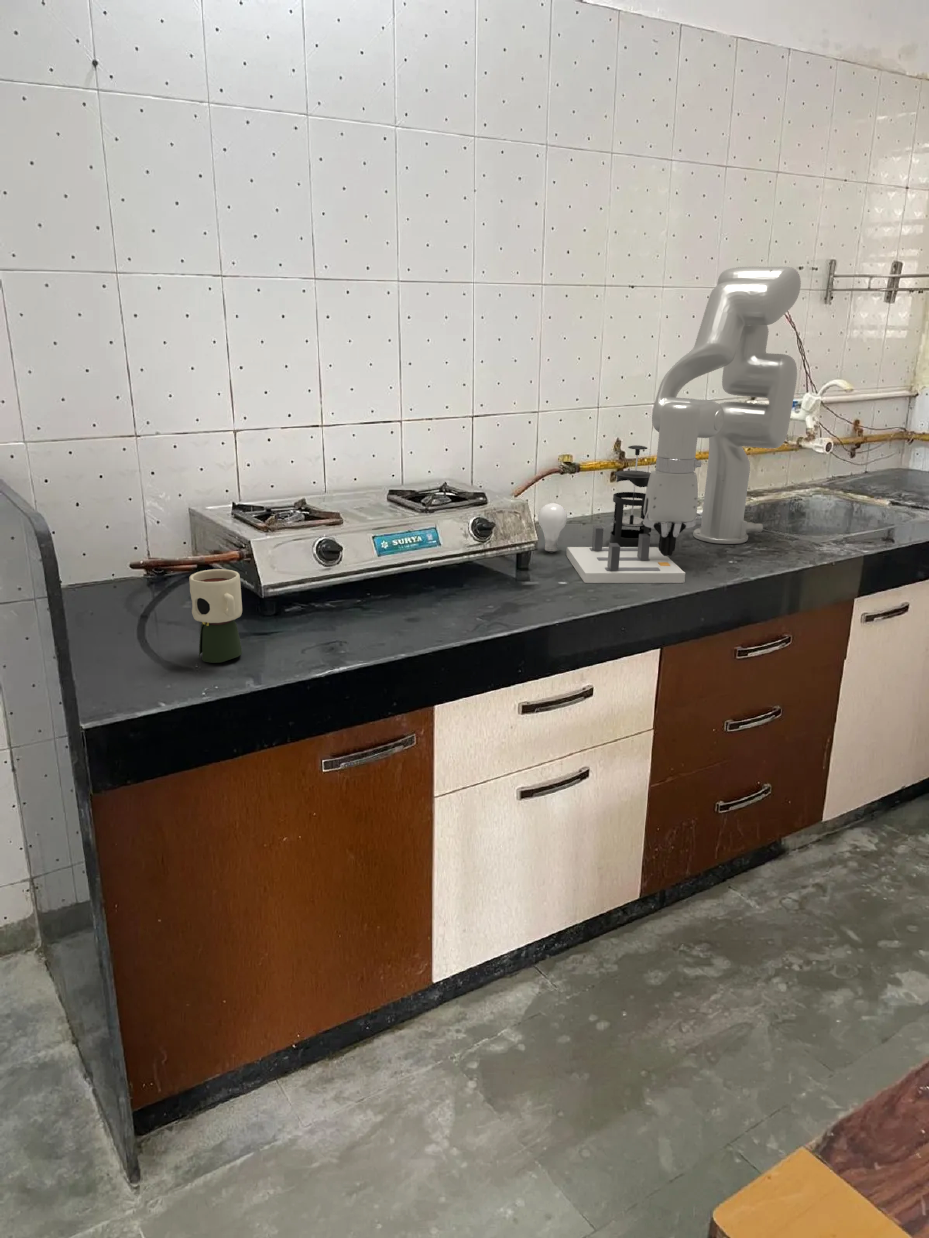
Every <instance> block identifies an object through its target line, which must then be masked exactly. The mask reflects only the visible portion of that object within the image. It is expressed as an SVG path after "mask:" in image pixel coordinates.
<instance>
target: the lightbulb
mask: <svg viewBox="0 0 929 1238" xmlns="http://www.w3.org/2000/svg"><path fill="white" fill-rule="evenodd" d="M537 521H538V524H539V526H540V528H541V530H542V532H543V536H544V544H545V546H544V550H545V551H546V552H548V553H550V554H552V553H554V552H557V551H558V540H559V538H560V536H561V535H560V534H561V531H562V530H563V529H564V528H565V526H566V524H567V521H568V513H567V511H566V509H565V507H563V506H562V505H561V504H559V503H556V502H550V503H546V504H545V505H543V506H542V507H541V508H540V510H539V511H538V514H537Z"/></svg>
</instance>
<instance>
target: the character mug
mask: <svg viewBox="0 0 929 1238" xmlns="http://www.w3.org/2000/svg"><path fill="white" fill-rule="evenodd" d="M188 578H189V579H188V580H189V581H188V582H189V592H190V598H191V603H192V604H191V606H192V608H191V614H192V616H193V617H192V618H193V619H194V621H197V622H200V623H201V624H200V632H199V645H198V646H199V647H198V658H199V659H200V658H202V659H201V660H202V661H203V662H206V663H214V664H217V663H224V662H225V663H226V662H227V661H229V660H232V659H235V658H239V656H241V655H242V654H243V650H242V644H241V638H240V633H239V630H238V629H239V628H238V625H237V622H236V621H235V620H236V619H238V618H240V617H241V616H242V613H243V602H242V589H241V588H242V587H241V586H242V585H241V577H240V573H239V572H238V571H235V570H232V569H224V568H223V569H222V568H221V569H219V568H217V569H216V568H213V569H207V570H206V569H205V570H200V571H197V572H194V573H192V574H190V576H189V577H188ZM201 655H202V656H201Z"/></svg>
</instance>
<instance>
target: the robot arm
mask: <svg viewBox="0 0 929 1238" xmlns="http://www.w3.org/2000/svg"><path fill="white" fill-rule="evenodd" d="M801 282H802V281H801V277H800V274H799V272H798V271H797V269H795V268H794V267H790V266H738V267H731V268H728V269H726V270H723V271H722V272H721V273H720V274H719V276H718V278H717V282H716V286H714V288H713V289H712V290H711V292H710V294H709V297H708V300H707V303H706V306H705V310H704V313H703V316H702V319H701V323H700V326H699V329H698V333H697V336H696V339H695V343H694V345H693V347H692V349H691V350H690V351H689V352H687V353H686V354H685V355H683V356H682V357H681V358H680V359H679V360H677V361H676V362H675V364H673V366H672V367H671V368H670V369H669V370H668V371H667V373H665V375H664V377H663V378H662V380H661V381H660V384H659V387H658V391H657V394H656V396H655V401H654V405H653V408H652V413H651V423H652V426H653V428H654V430H655V431H656V432H658V438H657V439H658V440H657V442H658V443H657V450H656V462H655V464H656V465H655V470H652V471H650V473H651V474H650V477H649V481H648V485H647V487H646V491H645V494H646V496H645V501H644V509H643V514H644V516H645V518H644V521H643V525H644V526H646V527H650V528H651V529H654V530H655V531H656V532H657V533H658V534H659V539H658V548H659V551H660V552H661V554H662V555H664V556H667V557H672V556H673V552H675V551H676V541H677V538H678V537H679V535H680V534H681V533H682V532H683V531H684V530H685V529H690V528H694V527H695V526H696V525H697V524H696V519H697V515H698V505H699V501H698V500H699V497H698V496H699V495H698V494H699V488H698V486H699V485H698V476H697V475H698V474H697V473H696V472H695V471H696V469H697V468H701V467H702V463H703V462H702V460H701V459H700V460H699V459H697V457H696V454H697V453H696V452H697V446H698V445H697V444H698V438H699V439H708V461H707V469H706V479H705V487H704V494H703V495H704V497H703V504H702V505H703V506H702V511H701V512H702V515H701V525H700V527H699V528H695V529H694V530H693V533H692V535H693V537H694V538H695V539H697V540H699V541H702V542H707V543H712V544H721V545H723V544H724V545H737V544H744V543H745V542H748V539H749V535H748V534H749V533H750V532H754V533H756V532H758V533H762V531H763V529H764V526H763V523H754V522H753V521H752V522H751V521H750V522H749V521H747V520H745V519H744V517H745V512H746V511H745V509H746V502H747V495H748V487H749V479H750V474H751V473H750V472H751V463H750V459H749V457H748V455H747V453H746V451H745V450H744V448H743V447H750V448H759V449H761V448H762V449H777V448H780V447H781V446H782V445H783V444H784V443H785V441H786V439H787V436H788V432H789V428H790V427H789V426H790V422H791V421H790V420H791V416H792V409H793V403H794V398H795V392H796V387H797V386H796V385H797V380H798V368H797V363H796V360H795V359H794V358H793V357H792V356H791V355H787V354H784V353H772V352H771V353H769V352H768V353H767V344H768V338H769V325H772V324H773V325H774V324H775V323H776V322H778V321H779V320H780V319H782V317H783V316H784V315H785V314H786V313H787V312H788V311H790V310H791V308H793V306H794V305H795V304H796V301H797V300H798V298H799V295H800V291H801V284H802V283H801ZM722 368H723V370H722V377H721V379H722V380H721V385H722V389H723V391H724V392H725V393H727V394H729V395H733V396H739V397H749V398H762V399H767V400H768V404H763V403H753V402H742V401H725V402H721V403H718V402H716V401H715V400H709V399H697V398H690V397H689V398H687V397H677V396H678V394H679V392H680V391H681V390H682V389H683V387H685V386H686V385H687V384H688V383H690V382H691V381H693V380H694V379H696V378H699V377H701V376H704V375H706V374H709V373H712V372H714V371H716V370H720V369H722ZM668 523H670V526H669V530H668Z"/></svg>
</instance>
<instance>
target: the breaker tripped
mask: <svg viewBox="0 0 929 1238" xmlns="http://www.w3.org/2000/svg"><path fill="white" fill-rule="evenodd" d="M650 545H651V536H648V535H647V534H639V542H638V553H637V557H638V558H639V559H640V560H648V558H649V547H651V546H650Z"/></svg>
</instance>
